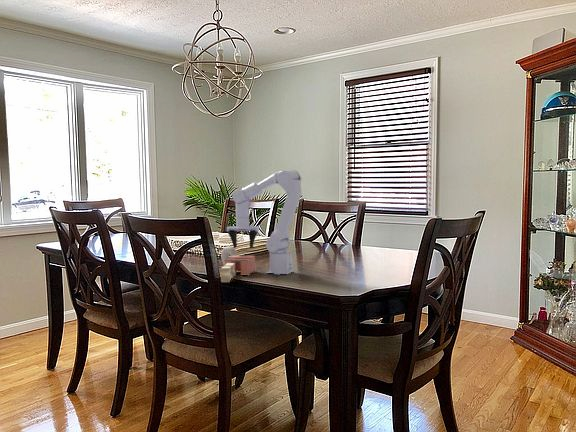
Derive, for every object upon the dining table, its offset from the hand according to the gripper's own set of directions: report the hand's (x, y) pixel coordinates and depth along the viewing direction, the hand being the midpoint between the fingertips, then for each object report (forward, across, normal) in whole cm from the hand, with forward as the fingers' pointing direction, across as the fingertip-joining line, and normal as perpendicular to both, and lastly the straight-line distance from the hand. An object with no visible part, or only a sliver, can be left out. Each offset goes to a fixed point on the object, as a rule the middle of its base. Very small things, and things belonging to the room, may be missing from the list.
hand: (243, 247), depth 215 cm
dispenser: (+10, -1, +9) cm, 14 cm away
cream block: (+10, 0, +20) cm, 22 cm away
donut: (+10, +8, -2) cm, 13 cm away
